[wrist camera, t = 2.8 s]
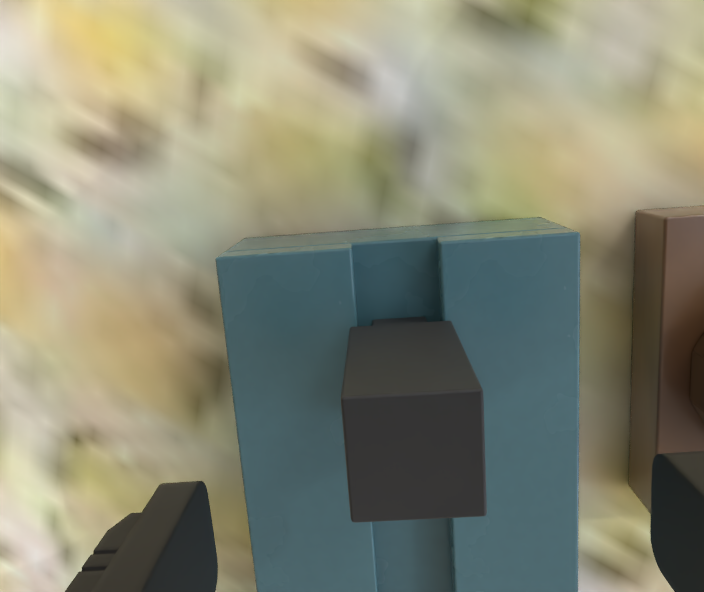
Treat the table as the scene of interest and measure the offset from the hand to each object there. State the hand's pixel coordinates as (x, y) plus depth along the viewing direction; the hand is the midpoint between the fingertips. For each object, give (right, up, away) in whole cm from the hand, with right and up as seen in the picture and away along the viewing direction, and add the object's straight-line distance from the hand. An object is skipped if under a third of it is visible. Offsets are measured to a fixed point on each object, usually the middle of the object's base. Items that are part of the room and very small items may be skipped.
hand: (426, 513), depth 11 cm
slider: (0, +2, +8) cm, 8 cm away
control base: (+1, -2, +12) cm, 12 cm away
